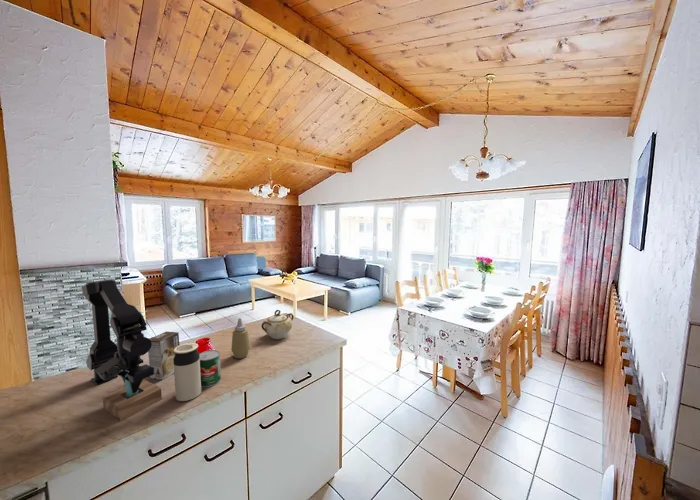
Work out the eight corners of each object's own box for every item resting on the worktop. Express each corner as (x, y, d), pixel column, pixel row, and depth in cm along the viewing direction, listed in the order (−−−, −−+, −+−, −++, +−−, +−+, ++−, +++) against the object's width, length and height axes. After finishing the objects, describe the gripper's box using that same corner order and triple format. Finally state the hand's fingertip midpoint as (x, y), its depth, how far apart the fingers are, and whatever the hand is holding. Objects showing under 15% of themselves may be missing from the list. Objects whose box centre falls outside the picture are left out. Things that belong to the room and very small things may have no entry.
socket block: (103, 408, 92) (102, 396, 92) (143, 388, 103) (143, 378, 102) (120, 420, 86) (119, 408, 86) (161, 398, 97) (161, 388, 97)
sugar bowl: (269, 346, 138) (269, 317, 136) (254, 337, 148) (254, 310, 146) (301, 334, 152) (301, 308, 151) (286, 327, 162) (285, 302, 161)
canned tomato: (217, 373, 113) (215, 348, 112) (224, 381, 108) (223, 354, 107) (195, 381, 108) (194, 354, 107) (202, 390, 102) (200, 362, 101)
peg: (124, 400, 94) (122, 375, 93) (135, 395, 96) (133, 371, 95) (129, 403, 92) (127, 378, 91) (140, 398, 95) (138, 373, 94)
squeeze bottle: (227, 358, 126) (226, 320, 124) (240, 350, 133) (239, 314, 131) (241, 361, 123) (240, 322, 121) (254, 353, 130) (252, 316, 128)
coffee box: (168, 366, 118) (166, 330, 117) (181, 368, 117) (179, 332, 115) (149, 378, 109) (146, 339, 108) (163, 380, 108) (160, 341, 106)
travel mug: (183, 404, 94) (180, 354, 92) (171, 396, 98) (168, 348, 96) (205, 392, 101) (203, 345, 99) (193, 385, 105) (191, 340, 103)
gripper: (85, 350, 90) (89, 395, 91) (112, 365, 81) (116, 414, 83) (125, 338, 99) (129, 378, 101) (153, 350, 91) (157, 394, 92)
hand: (132, 390), depth 94 cm, fingers closed on peg, 3 cm apart
